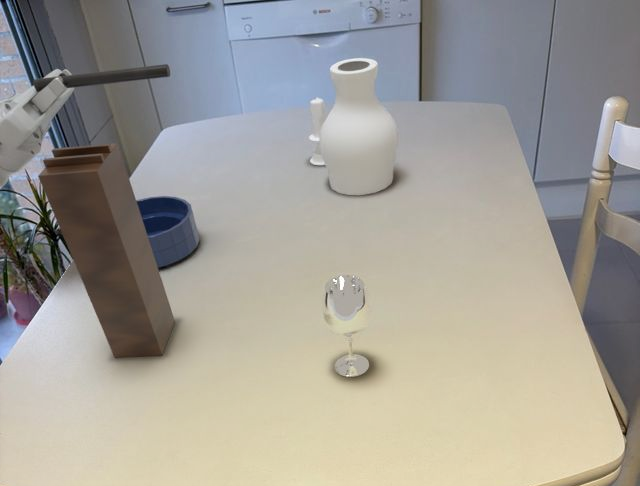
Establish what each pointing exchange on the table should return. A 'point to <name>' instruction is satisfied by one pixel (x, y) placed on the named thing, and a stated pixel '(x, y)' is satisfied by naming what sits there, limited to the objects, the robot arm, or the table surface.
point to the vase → (358, 132)
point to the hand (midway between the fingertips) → (65, 78)
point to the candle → (317, 128)
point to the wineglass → (347, 318)
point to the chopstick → (108, 77)
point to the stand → (109, 246)
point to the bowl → (169, 228)
